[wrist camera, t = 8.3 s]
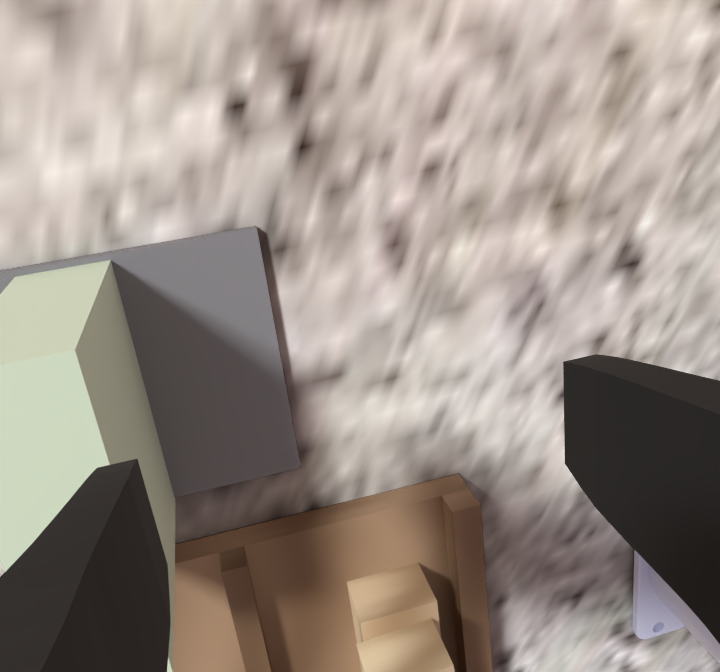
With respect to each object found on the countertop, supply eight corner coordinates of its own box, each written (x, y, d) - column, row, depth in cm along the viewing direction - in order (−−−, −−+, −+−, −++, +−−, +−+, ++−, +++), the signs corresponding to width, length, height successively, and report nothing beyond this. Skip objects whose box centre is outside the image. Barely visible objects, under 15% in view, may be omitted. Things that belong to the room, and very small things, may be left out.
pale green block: (110, 259, 19) (74, 350, 13) (175, 501, 22) (173, 674, 16) (14, 276, 19) (-73, 379, 12) (94, 521, 22) (57, 706, 15)
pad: (255, 225, 20) (257, 228, 20) (298, 461, 23) (301, 467, 23) (-120, 291, 18) (-126, 295, 18) (-20, 537, 21) (-24, 545, 21)
